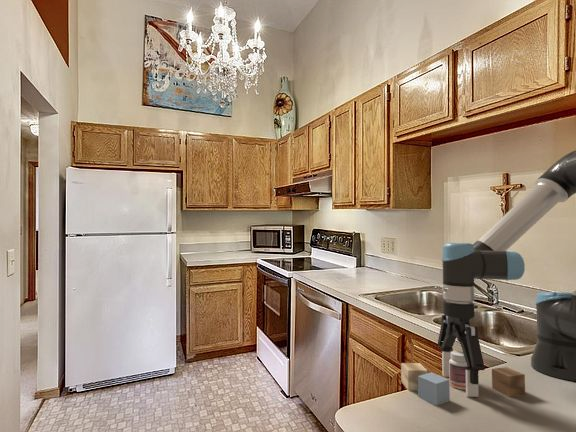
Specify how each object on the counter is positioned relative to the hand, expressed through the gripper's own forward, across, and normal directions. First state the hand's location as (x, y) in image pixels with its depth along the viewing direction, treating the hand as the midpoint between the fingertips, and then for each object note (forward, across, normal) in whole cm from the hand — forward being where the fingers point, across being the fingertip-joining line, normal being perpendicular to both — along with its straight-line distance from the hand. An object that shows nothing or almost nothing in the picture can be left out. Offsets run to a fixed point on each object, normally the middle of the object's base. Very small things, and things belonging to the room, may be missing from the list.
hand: (459, 385), depth 90 cm
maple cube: (0, 0, -12) cm, 12 cm away
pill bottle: (0, 0, 0) cm, 0 cm away
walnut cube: (0, +3, +11) cm, 12 cm away
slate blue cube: (0, +7, -10) cm, 12 cm away
